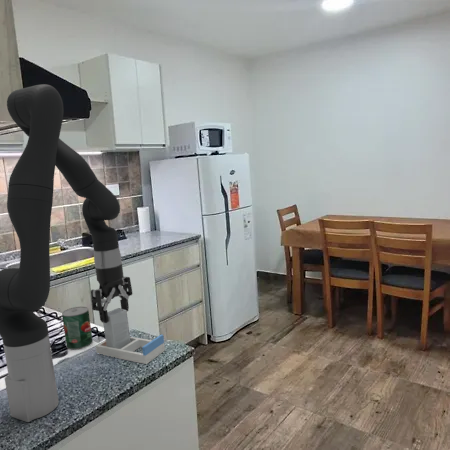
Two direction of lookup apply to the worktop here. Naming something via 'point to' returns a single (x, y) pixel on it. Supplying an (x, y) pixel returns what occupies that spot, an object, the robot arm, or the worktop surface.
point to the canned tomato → (77, 327)
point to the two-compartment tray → (149, 349)
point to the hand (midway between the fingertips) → (115, 316)
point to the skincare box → (117, 329)
